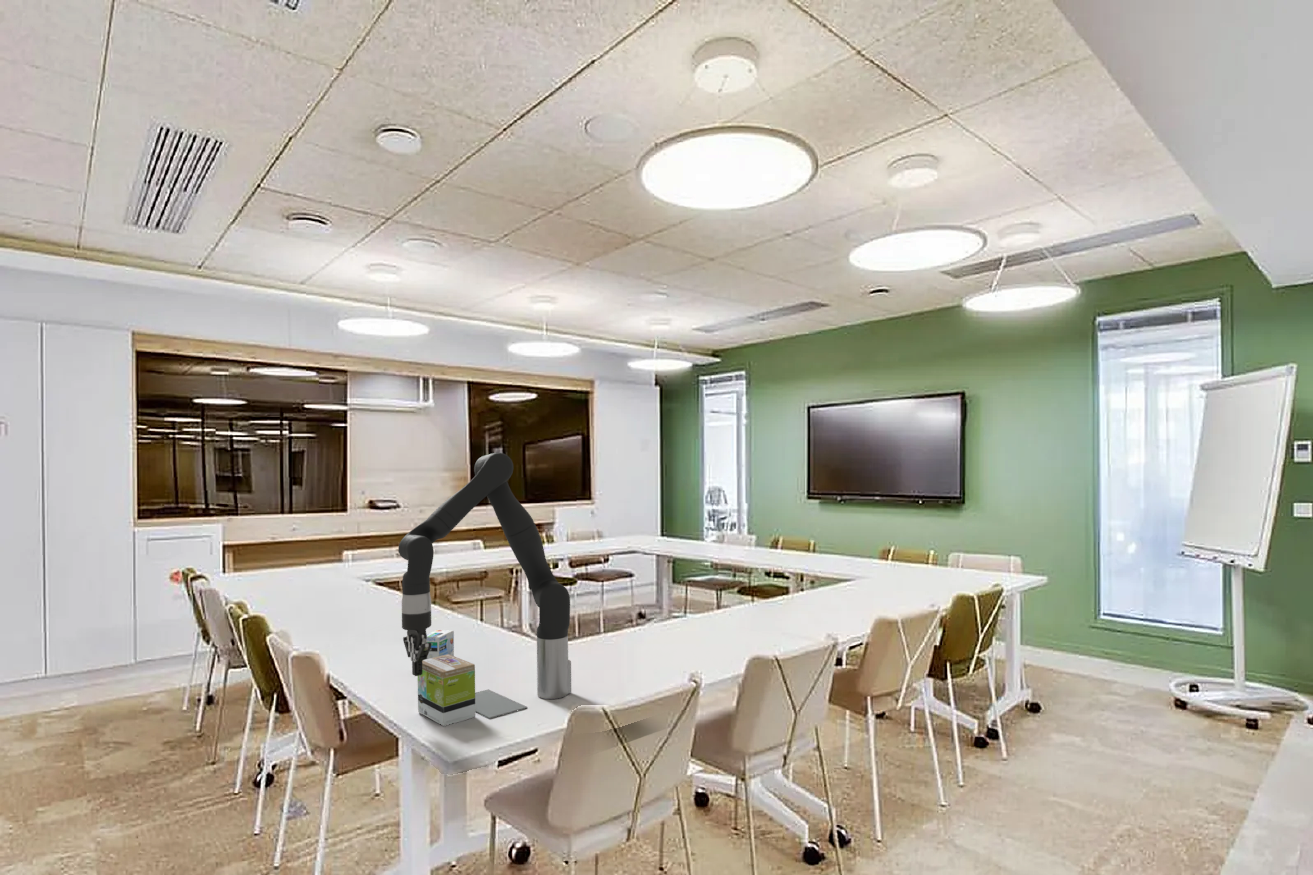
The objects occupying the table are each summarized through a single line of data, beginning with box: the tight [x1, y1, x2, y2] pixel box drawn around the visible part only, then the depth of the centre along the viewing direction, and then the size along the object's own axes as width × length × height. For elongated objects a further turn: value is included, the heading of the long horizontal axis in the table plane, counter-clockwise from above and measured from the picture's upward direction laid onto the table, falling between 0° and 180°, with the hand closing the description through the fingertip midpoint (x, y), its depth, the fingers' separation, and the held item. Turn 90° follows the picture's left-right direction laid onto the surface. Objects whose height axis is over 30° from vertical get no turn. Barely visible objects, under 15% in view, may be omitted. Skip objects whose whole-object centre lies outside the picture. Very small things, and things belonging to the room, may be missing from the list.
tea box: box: [417, 654, 476, 727], centre depth 199 cm, size 15×10×15 cm
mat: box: [475, 689, 528, 720], centre depth 208 cm, size 12×22×1 cm, turn 42°
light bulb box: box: [425, 629, 455, 660], centre depth 250 cm, size 11×7×11 cm, turn 168°
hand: (417, 674), depth 194 cm, fingers closed
